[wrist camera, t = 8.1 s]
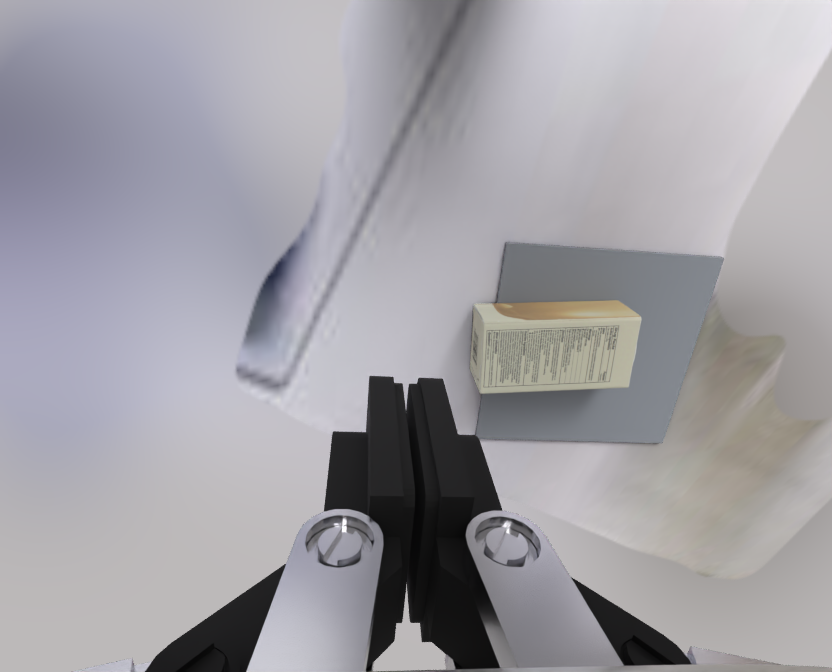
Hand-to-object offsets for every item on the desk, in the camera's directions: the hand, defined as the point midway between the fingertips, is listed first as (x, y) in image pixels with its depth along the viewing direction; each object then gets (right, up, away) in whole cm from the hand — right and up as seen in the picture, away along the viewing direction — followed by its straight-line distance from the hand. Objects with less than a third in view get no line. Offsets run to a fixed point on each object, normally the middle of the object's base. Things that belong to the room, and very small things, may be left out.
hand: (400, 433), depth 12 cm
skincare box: (+5, +1, +29) cm, 29 cm away
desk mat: (+16, +1, +33) cm, 36 cm away
